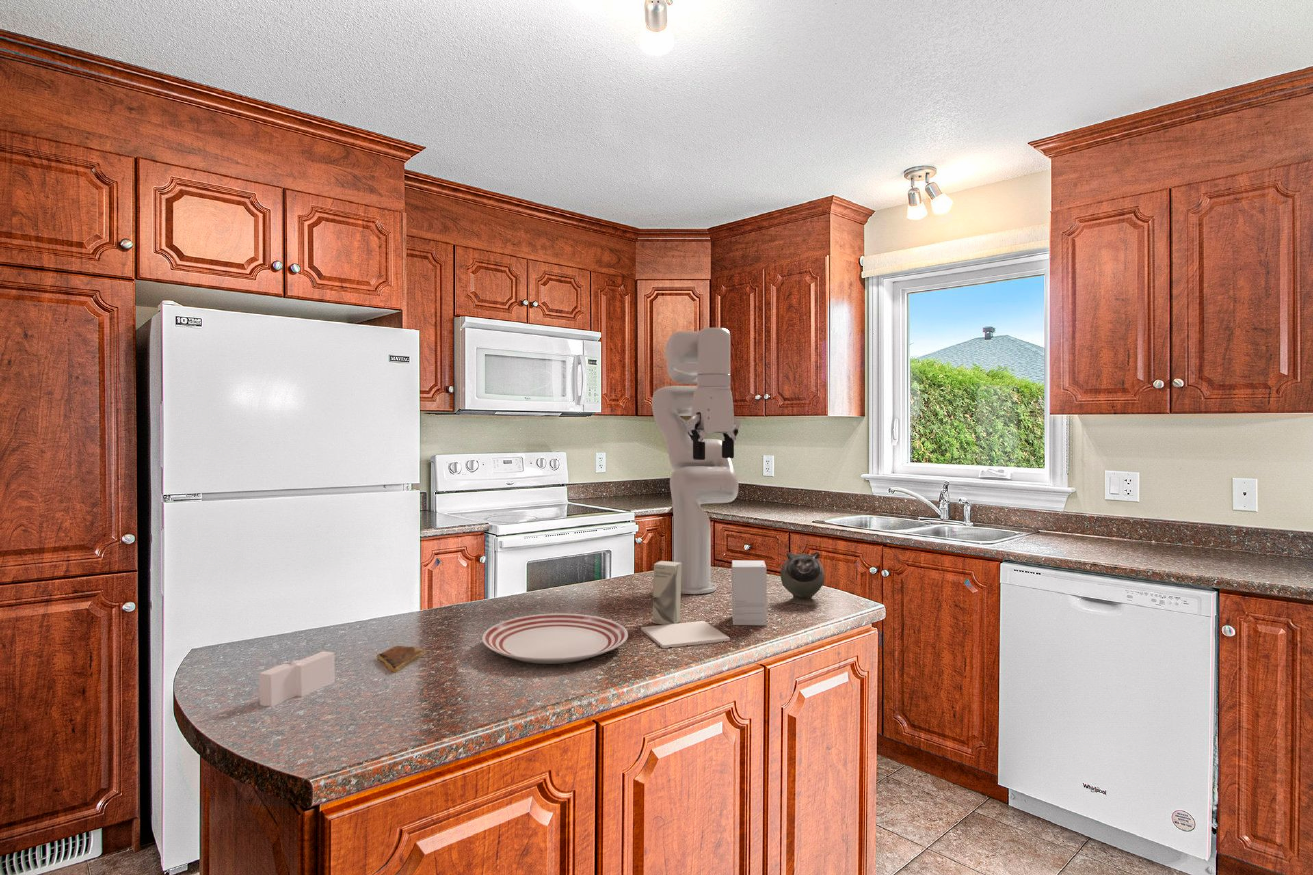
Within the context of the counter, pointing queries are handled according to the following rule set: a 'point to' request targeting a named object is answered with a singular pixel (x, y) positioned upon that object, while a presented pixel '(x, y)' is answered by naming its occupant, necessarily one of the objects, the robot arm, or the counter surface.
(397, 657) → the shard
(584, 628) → the dinner plate
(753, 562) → the supplement box
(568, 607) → the counter surface
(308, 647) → the counter surface
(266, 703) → the pink notched block
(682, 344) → the robot arm
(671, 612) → the box
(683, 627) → the beige flat slab
